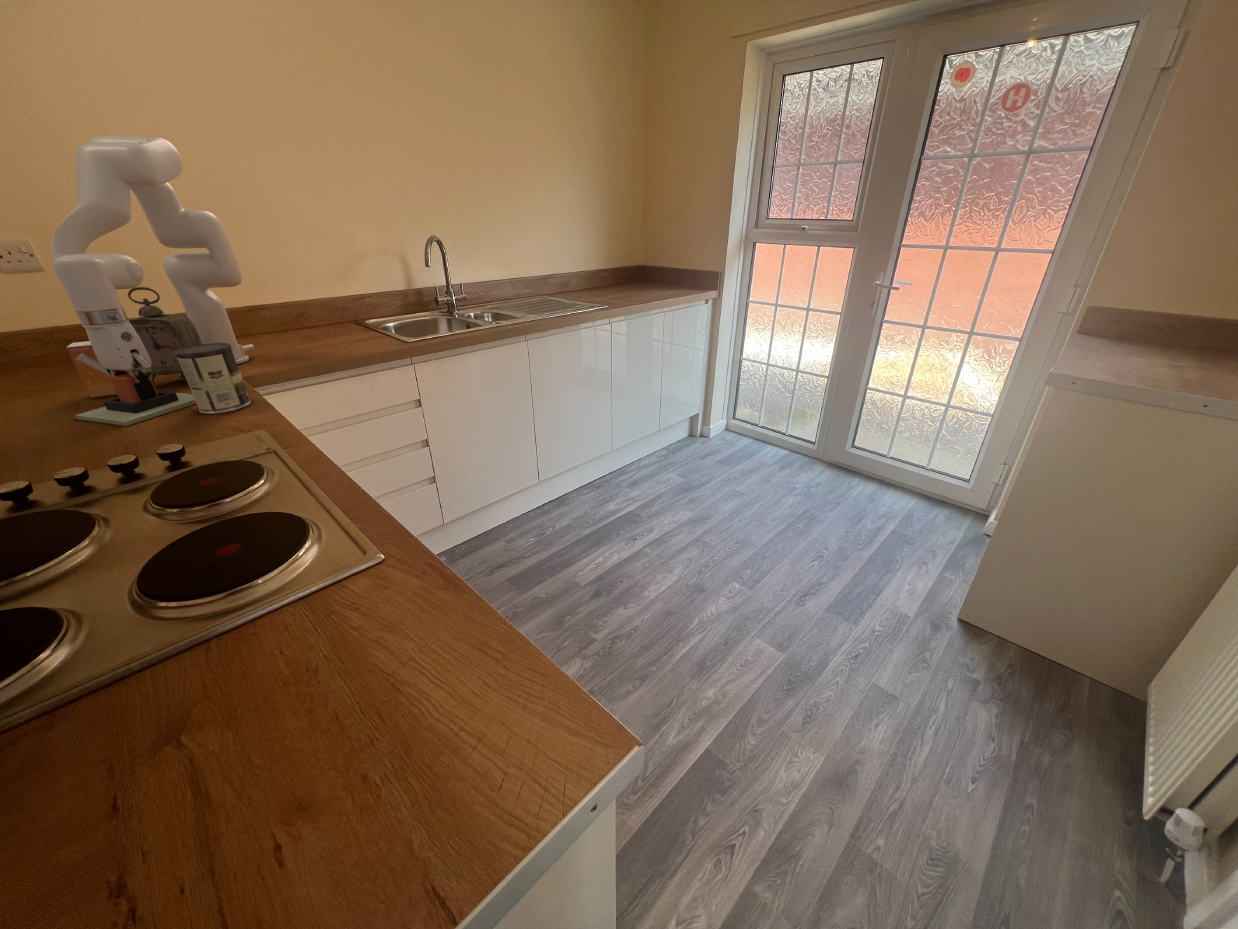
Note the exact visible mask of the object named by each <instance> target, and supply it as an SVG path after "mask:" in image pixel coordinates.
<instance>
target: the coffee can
mask: <svg viewBox="0 0 1238 929" xmlns="http://www.w3.org/2000/svg"><path fill="white" fill-rule="evenodd" d="M174 353H175V355H176V356H177V358H178V361H179V363H180V365H181V368H182V370H183V375H185V377H186V382H187V385H188V387H189V389H190V391H191V393H192V394H193V396H194V399H195V401H196V406H197V409H198V412H199V413H201V414H205V415H217V414H224V413H229V412H233V411H237V410H240V409H244V408H246V407H248V406H249V405H251V404H252V401H251V399H250V396H249V394H248V391H247V389H246V386H245V382H244V380H243V377H242V374H241V372H240V369H239V366H238V364H237V363H236V360H235V358H234V355H233V352H232V349H231V345H230V344H228V343H209V344H201V345H194V346H189V347H184V348H181V349H178V350H176V351H175V352H174Z"/></svg>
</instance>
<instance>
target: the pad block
mask: <svg viewBox="0 0 1238 929" xmlns="http://www.w3.org/2000/svg"><path fill="white" fill-rule="evenodd" d="M135 373H136V375H138V372H137V371H136V372H135ZM150 377H151V380H150V381H151V383H152V386H153V388H154V390H155V392H156V395H157V396H159V394H158V392H157V391H158V390H157V387H156V384H155V385H154V383H153V381H152V375H150ZM110 379H111V381H112V383H113V385H114V387H115V390H116V392H117V396H118V398H120V400H121V402H128V403H137V402H140V401H143V400H140V398H139V396H138V393H137V391H136V389H135V387H134V385H133V384H134V383H135V382H134V380H133V379H132V377H131V376H130V374H129V373H127V374H122V375H118V376H114V377H110ZM157 396H156V397H157Z"/></svg>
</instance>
